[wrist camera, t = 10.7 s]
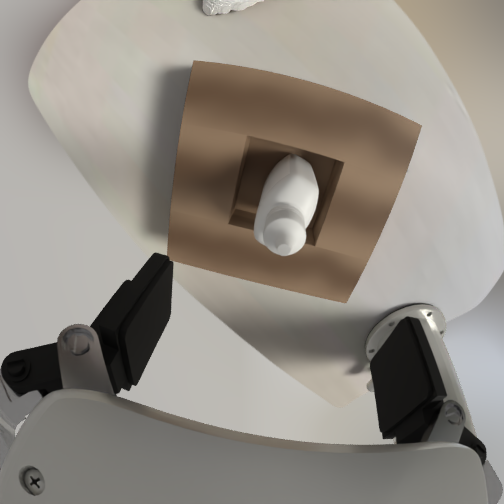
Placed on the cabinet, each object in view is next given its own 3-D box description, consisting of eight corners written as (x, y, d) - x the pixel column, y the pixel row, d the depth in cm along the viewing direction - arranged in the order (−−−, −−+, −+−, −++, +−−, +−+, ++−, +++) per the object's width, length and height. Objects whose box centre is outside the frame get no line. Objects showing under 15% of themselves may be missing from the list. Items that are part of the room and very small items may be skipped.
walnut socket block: (340, 276, 30) (346, 303, 26) (181, 237, 30) (166, 259, 26) (401, 120, 21) (421, 125, 17) (209, 66, 20) (193, 60, 17)
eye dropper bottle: (246, 178, 25) (215, 241, 14) (300, 146, 23) (312, 188, 12) (272, 216, 26) (260, 299, 16) (324, 188, 24) (350, 258, 14)
